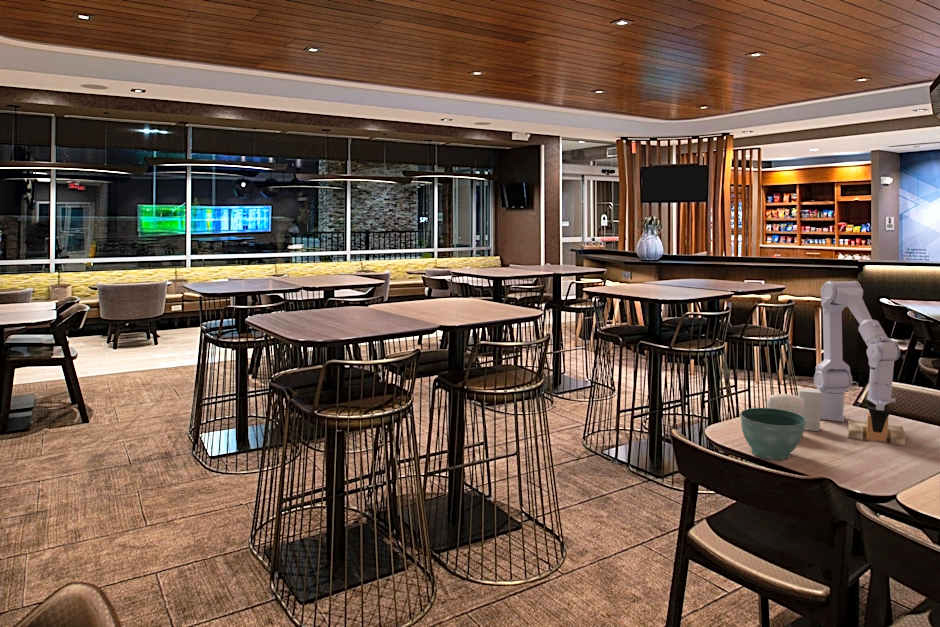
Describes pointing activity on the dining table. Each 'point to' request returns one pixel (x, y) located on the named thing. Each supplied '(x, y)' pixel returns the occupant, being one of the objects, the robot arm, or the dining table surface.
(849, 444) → the dining table surface
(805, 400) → the skincare box
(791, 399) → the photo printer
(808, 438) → the dining table surface
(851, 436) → the notched board
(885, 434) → the orange brown rectangular block
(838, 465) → the dining table surface
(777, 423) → the green bowl
